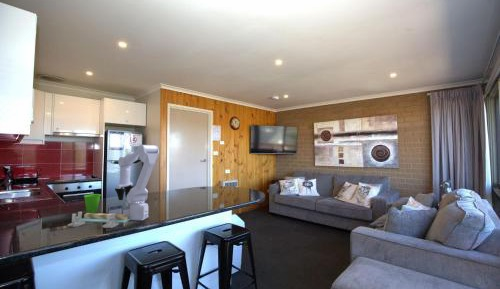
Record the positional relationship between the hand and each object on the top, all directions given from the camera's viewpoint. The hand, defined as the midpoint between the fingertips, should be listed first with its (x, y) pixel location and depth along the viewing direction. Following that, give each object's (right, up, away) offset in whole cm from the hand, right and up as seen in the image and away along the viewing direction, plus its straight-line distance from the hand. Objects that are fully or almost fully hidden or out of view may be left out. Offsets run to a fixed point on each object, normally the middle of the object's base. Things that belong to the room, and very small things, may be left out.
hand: (124, 198), depth 151 cm
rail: (-4, -8, -13) cm, 16 cm away
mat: (-4, -9, -13) cm, 16 cm away
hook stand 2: (+5, -9, -23) cm, 26 cm away
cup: (-20, -9, +1) cm, 22 cm away
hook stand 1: (-13, -9, -23) cm, 28 cm away
